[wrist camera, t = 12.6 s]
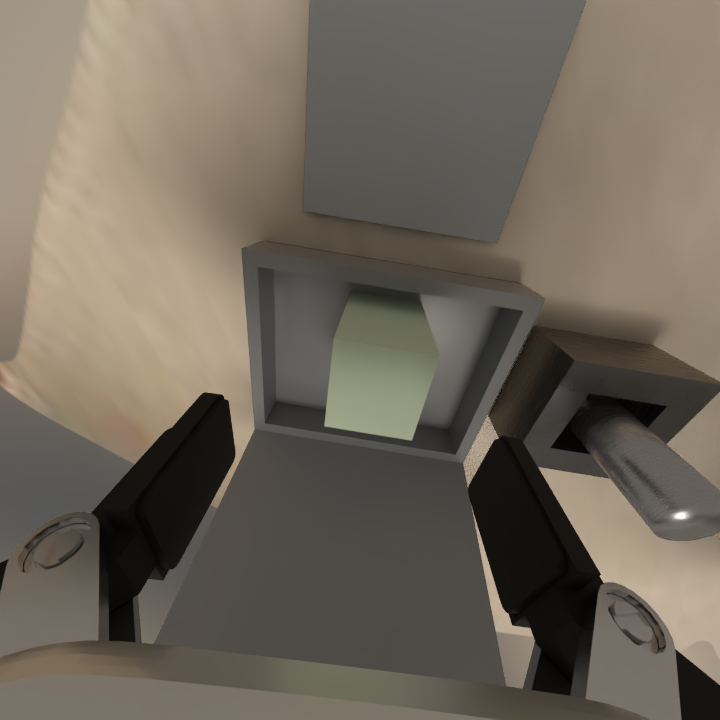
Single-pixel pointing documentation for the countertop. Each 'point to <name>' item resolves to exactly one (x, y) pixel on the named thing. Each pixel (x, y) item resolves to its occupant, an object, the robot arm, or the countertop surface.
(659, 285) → the countertop surface
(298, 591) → the lid
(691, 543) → the countertop surface
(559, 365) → the square socket block
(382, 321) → the block
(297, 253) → the case
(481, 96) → the mat
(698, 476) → the rod
